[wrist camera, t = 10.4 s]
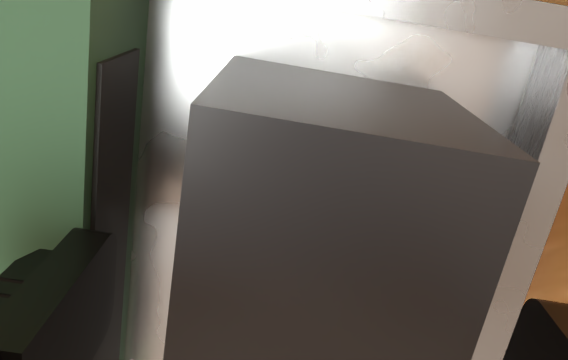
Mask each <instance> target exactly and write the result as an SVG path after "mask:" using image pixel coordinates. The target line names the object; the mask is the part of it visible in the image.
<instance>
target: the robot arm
mask: <svg viewBox="0 0 568 360" xmlns="http://www.w3.org/2000/svg"><path fill="white" fill-rule="evenodd" d="M116 255H117V238H116V235H115V234H114V233H109V232H102V231H96V230H89V229H83V228H73V229H72V230H71V231H70V232H69V233H68V234H67V235H66V236H65V237H64V238H63V239H62V241H61V242H60V243H59V244H58V245H57V246H56V247H55V248H54V249H53V250H47V249H38V250H36V251H34V252H32V253H29V254H27V255H25V256H23V257H21V258H19V259H17V260H15V261H14V262H13V263H12V264H11V265H10V266H9V267H8V268H7V269H5V270H4V271H3V272H2V273H1V274H0V360H93V358H94V356H95V354H96V352H97V351H98V349H99V347H100V345H101V343H102V341H103V340H104V338H105V336H106V333H107V331H108V328H109V325H110V321H111V317H112V312H113V306H114V291H115V273H116ZM503 360H568V304H565V303H559V302H552V301H546V300H539V299H529V300H528V301H526V302H525V304H524V305H523V307H522V309H521V312H520V314H519V317H518V320H517V322H516V325H515V328H514V331H513V333H512V336H511V339H510V341H509V344H508V347H507V349H506V352H505V355H504V358H503Z"/></svg>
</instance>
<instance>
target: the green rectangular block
mask: <svg viewBox="0 0 568 360" xmlns="http://www.w3.org/2000/svg"><path fill="white" fill-rule="evenodd" d="M148 12H149V0H0V274H1V273H2V272H3V271H4V270H5V269H7V268H8V267H9V266H10V265H11V264H12V263H13V262H14V261H15V260H17V259H19V258H21V257H23V256H25V255H27V254H29V253H32V252H34V251H36V250H38V249H47V250H53V249H54V248H55V247H56V246H57V245H58V244H59V243H60V242H61V241H62V239H63V238H64V237H65V236H66V235H67V234H68V233H69V232H70V231H71V230H72V229H73V228H83V229H89V230H96V231H102V232H109V233H114V234H115V235H116V238H117V255H116V273H115V291H114V306H113V312H112V317H111V321H110V325H109V328H108V331H107V333H106V336H105V338H104V340H103V341H102V343H101V345H100V347H99V349H98V351H97V352H96V354H95V356H94V358H93V360H124V352H125V338H126V324H127V310H128V296H129V281H130V267H131V253H132V239H133V225H134V211H135V196H136V182H137V168H138V154H139V140H140V126H141V111H142V97H143V83H144V69H145V55H146V41H147V26H148Z"/></svg>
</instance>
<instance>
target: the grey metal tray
mask: <svg viewBox="0 0 568 360" xmlns="http://www.w3.org/2000/svg"><path fill="white" fill-rule="evenodd" d="M234 55H235V56H241V57H247V58H253V59H259V60H264V61H270V62H276V63H282V64H288V65H293V66H299V67H305V68H311V69H317V70H322V71H328V72H334V73H340V74H346V75H351V76H357V77H363V78H369V79H375V80H381V81H386V82H392V83H398V84H404V85H410V86H415V87H421V88H427V89H433V90H439V91H442V92H444V93H445V94H446V95H448V96H449V97H450V98H452V99H453V100H455V101H456V102H457V103H459V104H460V105H461V106H463V107H464V108H466V109H467V110H468V111H470V112H471V113H472V114H474V115H475V116H477V117H478V118H479V119H481V120H482V121H483V122H485V123H486V124H488V125H489V126H490V127H492V128H493V129H494V130H496V131H497V132H499V133H500V134H501V135H503V136H504V137H505V138H507V139H508V140H510V141H511V142H512V143H514V144H515V145H516V146H518V147H519V148H521V149H522V150H523V151H525V152H526V153H527V154H529V155H530V156H532V157H533V158H534V159H536V160H537V161H538V162H540V165H539V168H538V171H537V174H536V177H535V179H534V182H533V185H532V188H531V191H530V194H529V197H528V199H527V202H526V205H525V208H524V211H523V214H522V217H521V219H520V222H519V225H518V228H517V231H516V234H515V236H514V239H513V242H512V245H511V248H510V251H509V254H508V256H507V259H506V262H505V265H504V268H503V271H502V274H501V276H500V279H499V282H498V285H497V288H496V291H495V294H494V296H493V299H492V302H491V305H490V308H489V311H488V314H487V316H486V319H485V322H484V325H483V328H482V331H481V334H480V336H479V339H478V342H477V345H476V348H475V351H474V353H473V356H472V359H471V360H503V357H504V355H505V352H506V349H507V347H508V344H509V341H510V339H511V336H512V333H513V330H514V328H515V325H516V322H517V320H518V317H519V314H520V311H521V309H522V306H523V303H524V301H525V298H526V295H527V292H528V290H529V287H530V284H531V282H532V279H533V276H534V273H535V271H536V268H537V265H538V263H539V260H540V257H541V255H542V252H543V249H544V246H545V244H546V241H547V238H548V236H549V233H550V230H551V227H552V225H553V222H554V219H555V217H556V214H557V211H558V208H559V206H560V203H561V200H562V198H563V195H564V192H565V190H566V187H567V184H568V6H564V5H558V4H553V3H547V2H541V1H535V0H149V12H148V26H147V41H146V55H145V69H144V83H143V97H142V111H141V126H140V140H139V154H138V168H137V182H136V196H135V211H134V225H133V239H132V253H131V267H130V281H129V296H128V310H127V324H126V338H125V352H124V360H163V356H164V346H165V337H166V328H167V318H168V309H169V300H170V290H171V281H172V272H173V262H174V253H175V244H176V234H177V225H178V216H179V206H180V197H181V188H182V179H183V169H184V160H185V151H186V141H187V132H188V123H189V113H190V104H191V103H192V102H193V101H194V99H195V98H196V97H197V96H198V95H199V94H200V93H201V92H202V91H203V90H204V88H205V87H206V86H207V85H208V84H209V83H210V82H211V81H212V80H213V78H214V77H215V76H216V75H217V74H218V73H219V72H220V71H221V70H222V68H223V67H224V66H225V65H226V64H227V63H228V62H229V61H230V60H231V58H232V57H233V56H234Z"/></svg>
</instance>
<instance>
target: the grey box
mask: <svg viewBox="0 0 568 360" xmlns="http://www.w3.org/2000/svg"><path fill="white" fill-rule="evenodd" d="M539 165H540V162H538V161H537V160H536V159H534V158H533V157H532V156H530V155H529V154H527V153H526V152H525V151H523V150H522V149H521V148H519V147H518V146H516V145H515V144H514V143H512V142H511V141H510V140H508V139H507V138H505V137H504V136H503V135H501V134H500V133H499V132H497V131H496V130H494V129H493V128H492V127H490V126H489V125H488V124H486V123H485V122H483V121H482V120H481V119H479V118H478V117H477V116H475V115H474V114H472V113H471V112H470V111H468V110H467V109H466V108H464V107H463V106H461V105H460V104H459V103H457V102H456V101H455V100H453V99H452V98H450V97H449V96H448V95H446V94H445V93H444V92H442V91H439V90H433V89H427V88H421V87H415V86H410V85H404V84H398V83H392V82H386V81H381V80H375V79H369V78H363V77H357V76H351V75H346V74H340V73H334V72H328V71H322V70H317V69H311V68H305V67H299V66H293V65H288V64H282V63H276V62H270V61H264V60H259V59H253V58H247V57H241V56H235V55H234V56H233V57H232V58H231V60H230V61H229V62H228V63H227V64H226V65H225V66H224V67H223V68H222V70H221V71H220V72H219V73H218V74H217V75H216V76H215V77H214V78H213V80H212V81H211V82H210V83H209V84H208V85H207V86H206V87H205V88H204V90H203V91H202V92H201V93H200V94H199V95H198V96H197V97H196V98H195V99H194V101H193V102H192V103H191V104H190V113H189V123H188V132H187V141H186V151H185V160H184V169H183V179H182V188H181V197H180V206H179V216H178V225H177V234H176V244H175V253H174V262H173V272H172V281H171V290H170V300H169V309H168V318H167V328H166V337H165V346H164V356H163V360H471V359H472V356H473V353H474V351H475V348H476V345H477V342H478V339H479V336H480V334H481V331H482V328H483V325H484V322H485V319H486V316H487V314H488V311H489V308H490V305H491V302H492V299H493V296H494V294H495V291H496V288H497V285H498V282H499V279H500V276H501V274H502V271H503V268H504V265H505V262H506V259H507V256H508V254H509V251H510V248H511V245H512V242H513V239H514V236H515V234H516V231H517V228H518V225H519V222H520V219H521V217H522V214H523V211H524V208H525V205H526V202H527V199H528V197H529V194H530V191H531V188H532V185H533V182H534V179H535V177H536V174H537V171H538V168H539Z"/></svg>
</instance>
